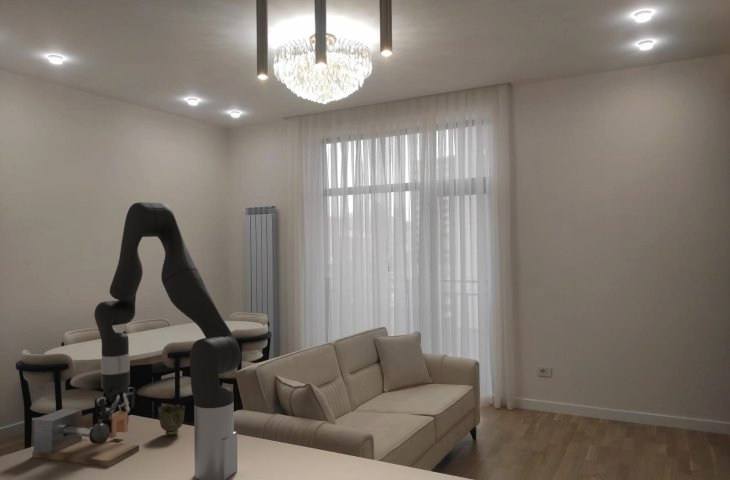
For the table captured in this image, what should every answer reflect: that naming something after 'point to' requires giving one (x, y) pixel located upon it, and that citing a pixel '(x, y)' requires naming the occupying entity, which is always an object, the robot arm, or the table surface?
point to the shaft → (90, 432)
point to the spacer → (119, 423)
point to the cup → (171, 418)
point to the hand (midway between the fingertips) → (116, 428)
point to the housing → (56, 430)
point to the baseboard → (92, 453)
